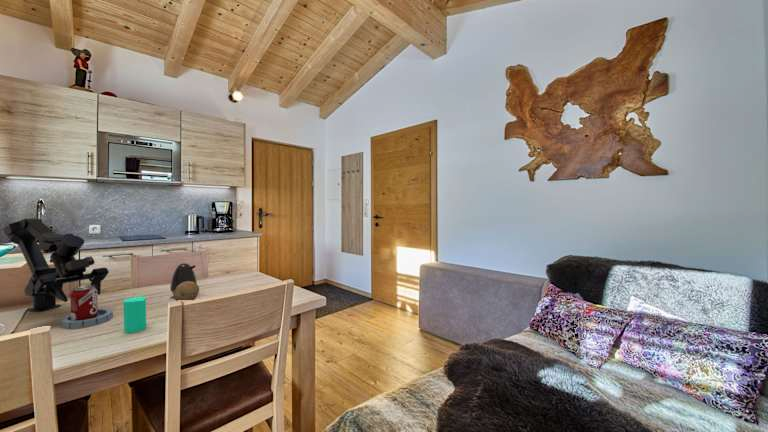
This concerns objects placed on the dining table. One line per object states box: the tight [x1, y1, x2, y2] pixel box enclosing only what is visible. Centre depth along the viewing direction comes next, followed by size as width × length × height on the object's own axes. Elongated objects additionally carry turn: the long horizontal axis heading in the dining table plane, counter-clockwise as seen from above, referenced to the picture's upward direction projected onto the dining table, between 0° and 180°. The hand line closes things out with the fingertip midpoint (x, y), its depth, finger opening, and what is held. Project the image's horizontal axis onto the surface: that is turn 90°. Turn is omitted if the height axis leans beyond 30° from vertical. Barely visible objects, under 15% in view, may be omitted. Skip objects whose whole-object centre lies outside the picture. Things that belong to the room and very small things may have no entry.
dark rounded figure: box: [170, 262, 198, 295], centre depth 136 cm, size 10×10×15 cm
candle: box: [123, 295, 147, 334], centre depth 102 cm, size 6×6×12 cm
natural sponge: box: [172, 281, 200, 302], centre depth 126 cm, size 9×9×10 cm
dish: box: [60, 307, 114, 330], centre depth 107 cm, size 13×13×2 cm
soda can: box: [69, 284, 99, 321], centre depth 106 cm, size 7×7×12 cm
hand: (83, 297), depth 107 cm, fingers open, 9 cm apart
